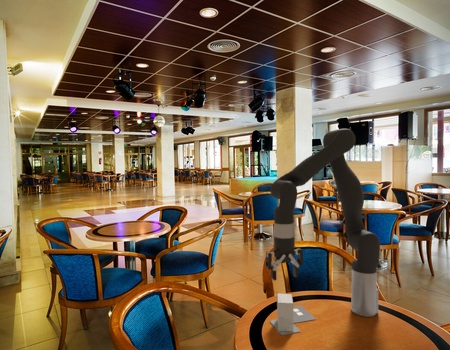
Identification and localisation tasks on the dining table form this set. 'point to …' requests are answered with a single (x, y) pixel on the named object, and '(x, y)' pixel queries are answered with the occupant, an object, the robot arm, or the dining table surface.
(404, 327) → the dining table surface
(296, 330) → the pad
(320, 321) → the dining table surface
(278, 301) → the small box
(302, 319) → the tile
